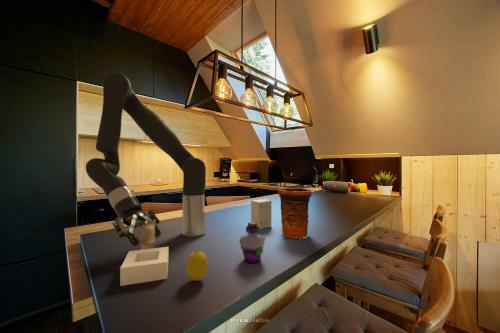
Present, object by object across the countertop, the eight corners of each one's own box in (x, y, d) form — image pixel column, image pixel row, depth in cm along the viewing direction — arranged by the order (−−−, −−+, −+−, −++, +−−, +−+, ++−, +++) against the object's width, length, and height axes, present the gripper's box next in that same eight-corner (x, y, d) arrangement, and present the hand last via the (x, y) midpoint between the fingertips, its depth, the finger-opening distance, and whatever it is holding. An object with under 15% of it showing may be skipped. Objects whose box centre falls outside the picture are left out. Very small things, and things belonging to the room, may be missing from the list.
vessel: (273, 237, 90) (274, 189, 90) (281, 228, 103) (282, 187, 104) (308, 242, 85) (309, 191, 85) (312, 232, 98) (313, 188, 98)
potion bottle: (257, 269, 63) (257, 228, 63) (233, 261, 68) (233, 223, 67) (270, 258, 70) (270, 221, 70) (248, 252, 75) (248, 217, 75)
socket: (168, 260, 68) (168, 246, 68) (167, 278, 57) (167, 261, 57) (129, 265, 64) (129, 251, 64) (120, 285, 54) (120, 268, 54)
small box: (263, 224, 109) (263, 198, 109) (271, 227, 104) (272, 200, 104) (250, 226, 105) (250, 200, 104) (258, 230, 99) (259, 202, 99)
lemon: (188, 275, 59) (188, 246, 59) (208, 274, 60) (209, 246, 59) (184, 287, 54) (184, 255, 53) (206, 286, 54) (206, 254, 54)
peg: (155, 253, 73) (155, 224, 73) (154, 258, 70) (154, 227, 69) (142, 254, 72) (142, 225, 72) (140, 259, 68) (140, 228, 68)
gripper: (109, 198, 67) (135, 240, 63) (147, 193, 80) (170, 227, 76) (98, 213, 69) (123, 255, 65) (137, 205, 82) (159, 240, 78)
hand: (148, 240), depth 71 cm, fingers open, 8 cm apart
